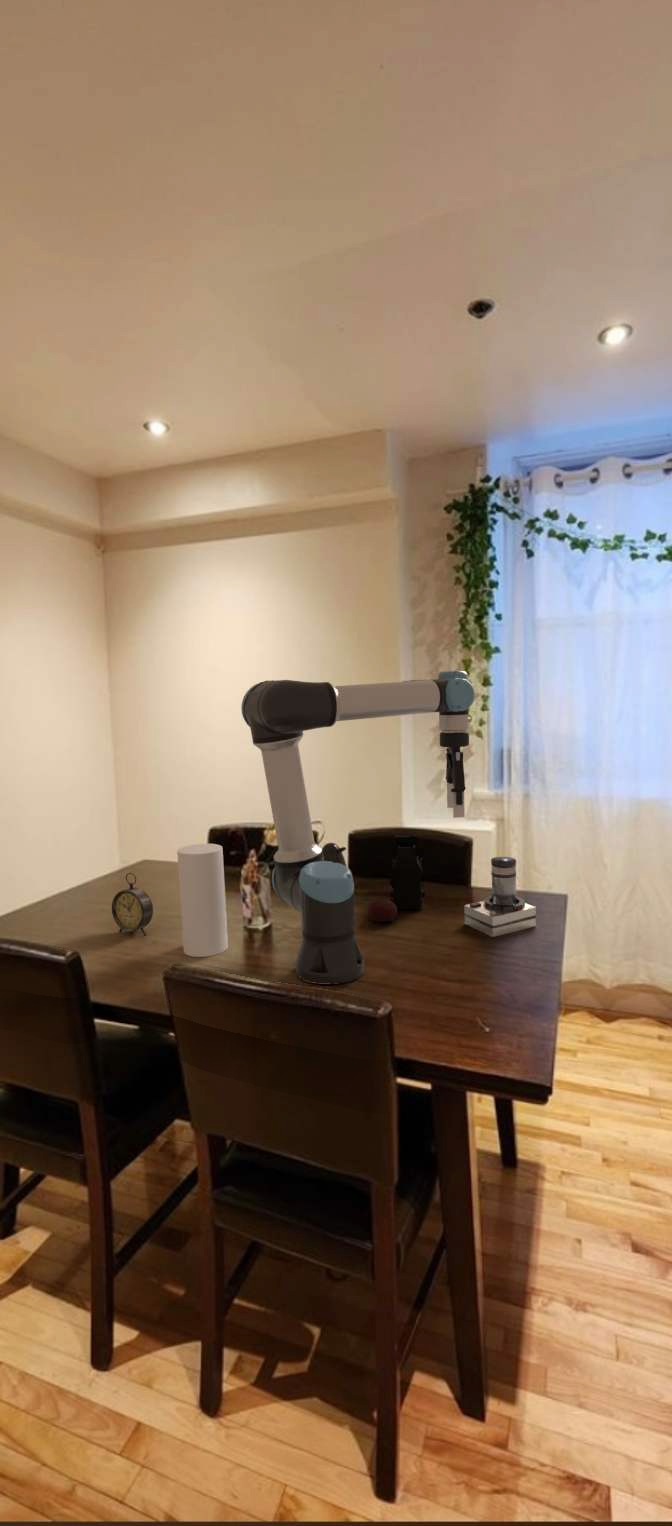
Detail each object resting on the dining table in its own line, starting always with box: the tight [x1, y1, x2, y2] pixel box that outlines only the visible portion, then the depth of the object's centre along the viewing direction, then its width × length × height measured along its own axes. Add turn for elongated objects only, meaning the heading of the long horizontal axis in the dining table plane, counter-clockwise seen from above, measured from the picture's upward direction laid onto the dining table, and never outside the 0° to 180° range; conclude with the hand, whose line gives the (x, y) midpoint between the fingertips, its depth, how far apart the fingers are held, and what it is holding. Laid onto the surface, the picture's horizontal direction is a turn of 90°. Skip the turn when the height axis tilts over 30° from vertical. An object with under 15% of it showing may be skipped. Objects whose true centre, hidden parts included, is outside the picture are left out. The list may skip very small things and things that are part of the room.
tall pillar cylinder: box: [176, 843, 229, 958], centre depth 164 cm, size 11×11×25 cm
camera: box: [389, 834, 426, 910], centre depth 193 cm, size 10×14×20 cm
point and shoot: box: [463, 895, 537, 938], centre depth 173 cm, size 14×11×6 cm
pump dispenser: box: [321, 842, 348, 868], centre depth 207 cm, size 10×10×15 cm
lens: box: [490, 856, 517, 905], centre depth 173 cm, size 6×6×12 cm
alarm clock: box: [111, 872, 154, 937], centre depth 177 cm, size 11×5×16 cm, turn 64°
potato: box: [367, 898, 398, 923], centre depth 179 cm, size 7×8×6 cm
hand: (455, 812), depth 177 cm, fingers open, 13 cm apart
